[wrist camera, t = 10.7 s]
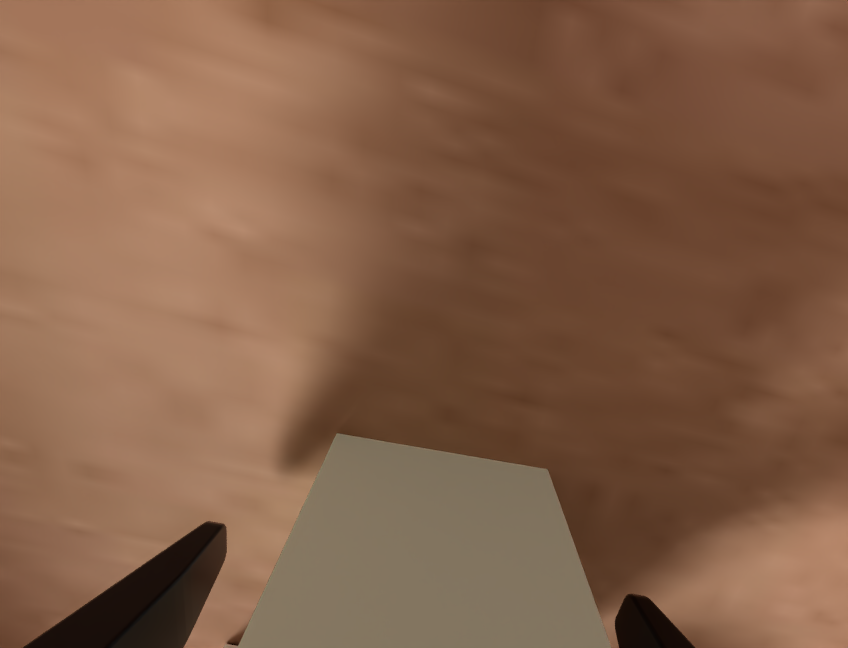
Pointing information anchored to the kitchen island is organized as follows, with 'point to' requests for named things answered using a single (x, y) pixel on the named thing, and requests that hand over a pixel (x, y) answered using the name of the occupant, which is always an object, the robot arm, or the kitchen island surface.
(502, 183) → the kitchen island surface
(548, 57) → the kitchen island surface
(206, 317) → the kitchen island surface
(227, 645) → the channel
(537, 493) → the block
